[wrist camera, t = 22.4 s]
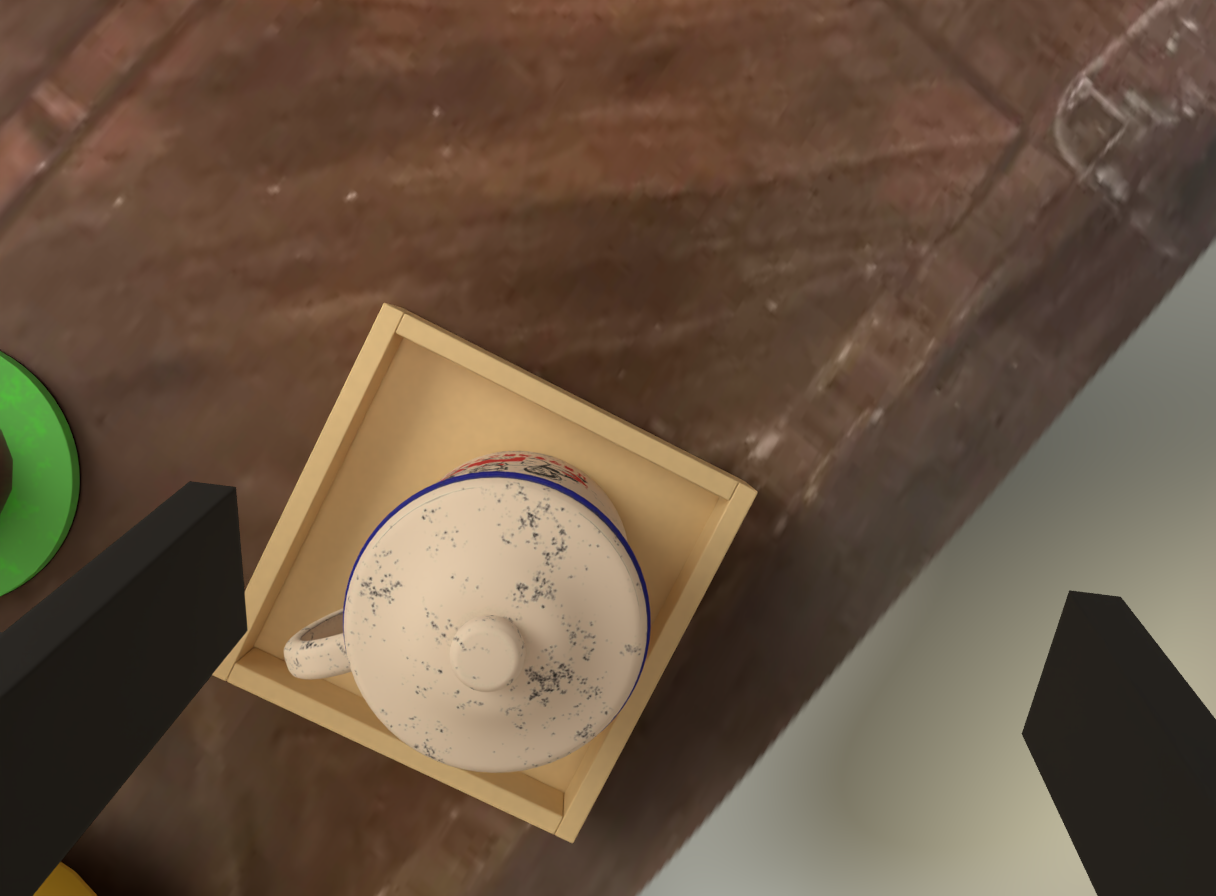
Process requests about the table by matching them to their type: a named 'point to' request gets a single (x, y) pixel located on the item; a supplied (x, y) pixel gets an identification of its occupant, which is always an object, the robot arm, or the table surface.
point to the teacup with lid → (491, 616)
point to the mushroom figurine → (32, 475)
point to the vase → (64, 884)
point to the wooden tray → (421, 456)
